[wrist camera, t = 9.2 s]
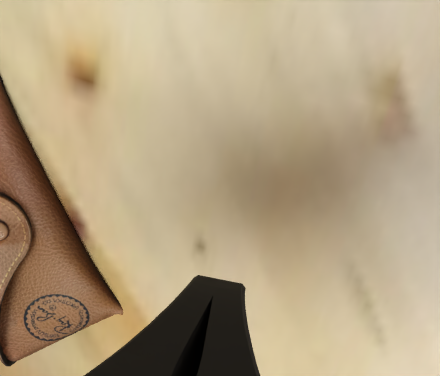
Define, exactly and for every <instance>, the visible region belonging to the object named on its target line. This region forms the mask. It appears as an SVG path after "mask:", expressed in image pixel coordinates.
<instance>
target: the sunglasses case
mask: <svg viewBox="0 0 440 376" xmlns="http://www.w3.org/2000/svg"><path fill="white" fill-rule="evenodd" d="M114 314H119V315H122V314H123V309H122V307H121V305H120V303H119V302H118V300H117V298H116V297H115V295H114V294H113V293H112V291H111V290H110V289H109V287H108V286H107V284H106V283H105V281H104V280H103V278H102V277H101V275H100V274H99V272H98V270H97V269H96V267H95V265H94V264H93V262H92V260H91V259H90V257H89V255H88V253H87V251H86V250H85V248H84V246H83V245H82V243H81V241H80V239H79V237H78V235H77V233H76V231H75V229H74V227H73V225H72V223H71V222H70V220H69V218H68V217H67V214H66V212H65V211H64V209H63V207H62V205H61V203H60V201H59V199H58V197H57V195H56V193H55V191H54V190H53V188H52V186H51V184H50V182H49V180H48V178H47V176H46V174H45V172H44V170H43V168H42V166H41V164H40V162H39V160H38V158H37V156H36V155H35V153H34V151H33V149H32V146H31V144H30V142H29V140H28V138H27V137H26V135H25V133H24V131H23V129H22V127H21V125H20V123H19V121H18V119H17V116H16V113H15V111H14V109H13V107H12V105H11V102H10V100H9V98H8V96H7V93H6V91H5V89H4V86H3V81H2V78H1V76H0V360H1V362H2V363H3V364H4V365H5V366H11V365H12V364H14V363H15V362H16V361H17V360H20V359H22V358H24V357H26V356H29V355H31V354H33V353H35V352H37V351H39V350H41V349H43V348H45V347H47V346H49V345H51V344H53V343H55V342H57V341H59V340H61V339H63V338H66V337H67V336H70V335H72V334H74V333H76V332H78V331H80V330H82V329H84V328H86V327H89V326H90V325H92V324H94V323H97V322H99V321H101V320H103V319H106V318H108V317H110V316H113V315H114Z"/></svg>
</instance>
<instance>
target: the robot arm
mask: <svg viewBox="0 0 440 376" xmlns="http://www.w3.org/2000/svg"><path fill="white" fill-rule="evenodd" d="M84 376H260V374H259V370H258V367H257V364H256V360H255V356H254V352H253V348H252V343H251V339H250V334H249V330H248V324H247V317H246V310H245V287H244V286H243V284H241V283H236V282H231V281H225V280H220V279H215V278H210V277H205V276H200V275H198V276H196V277H194V278H193V279H192V281H191V282H190V283H189V284H188V285H187V287H186V288H185V289H184V290H183V291H182V292H181V293H180V294H179V295H178V296H177V297H176V298H175V300H174V301H173V302H172V303H171V304H170V305H169V306H168V307H167V308H166V309H165V310H164V311H162V312H161V313H160V314H159V315H158V316H157V317H156V318H155V319H154V320H153V321H152V322H151V323H150V324H149V325H148V326H147V327H145V328H144V329H143V330H142V331H141V332H140V333H138V334H137V335H136V336H135V337H134V338H133V339H131V340H130V341H129V342H128V343H127V344H126V345H124V346H123V347H122V348H121V349H119V350H118V351H117V352H116V353H114V354H113V355H112V356H110V357H109V358H108V359H106V360H105V361H104V362H102V363H101V364H100V365H98V366H97V367H96V368H94V369H93V370H91V371H90V372H89V373H87V374H86V375H84Z"/></svg>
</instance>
